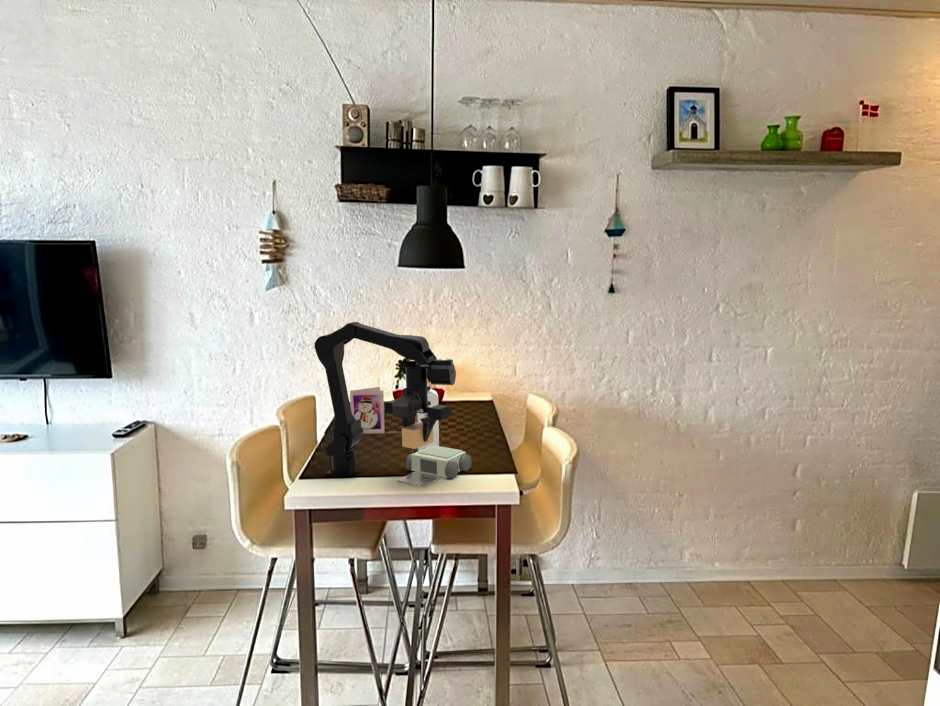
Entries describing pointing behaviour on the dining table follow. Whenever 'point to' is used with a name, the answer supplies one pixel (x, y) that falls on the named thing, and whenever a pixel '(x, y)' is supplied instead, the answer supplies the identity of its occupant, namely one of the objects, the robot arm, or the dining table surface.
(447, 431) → the dining table surface
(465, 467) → the mower deck
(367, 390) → the greeting card
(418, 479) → the mounting plate
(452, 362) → the robot arm
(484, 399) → the dining table surface
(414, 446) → the block
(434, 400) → the milk
